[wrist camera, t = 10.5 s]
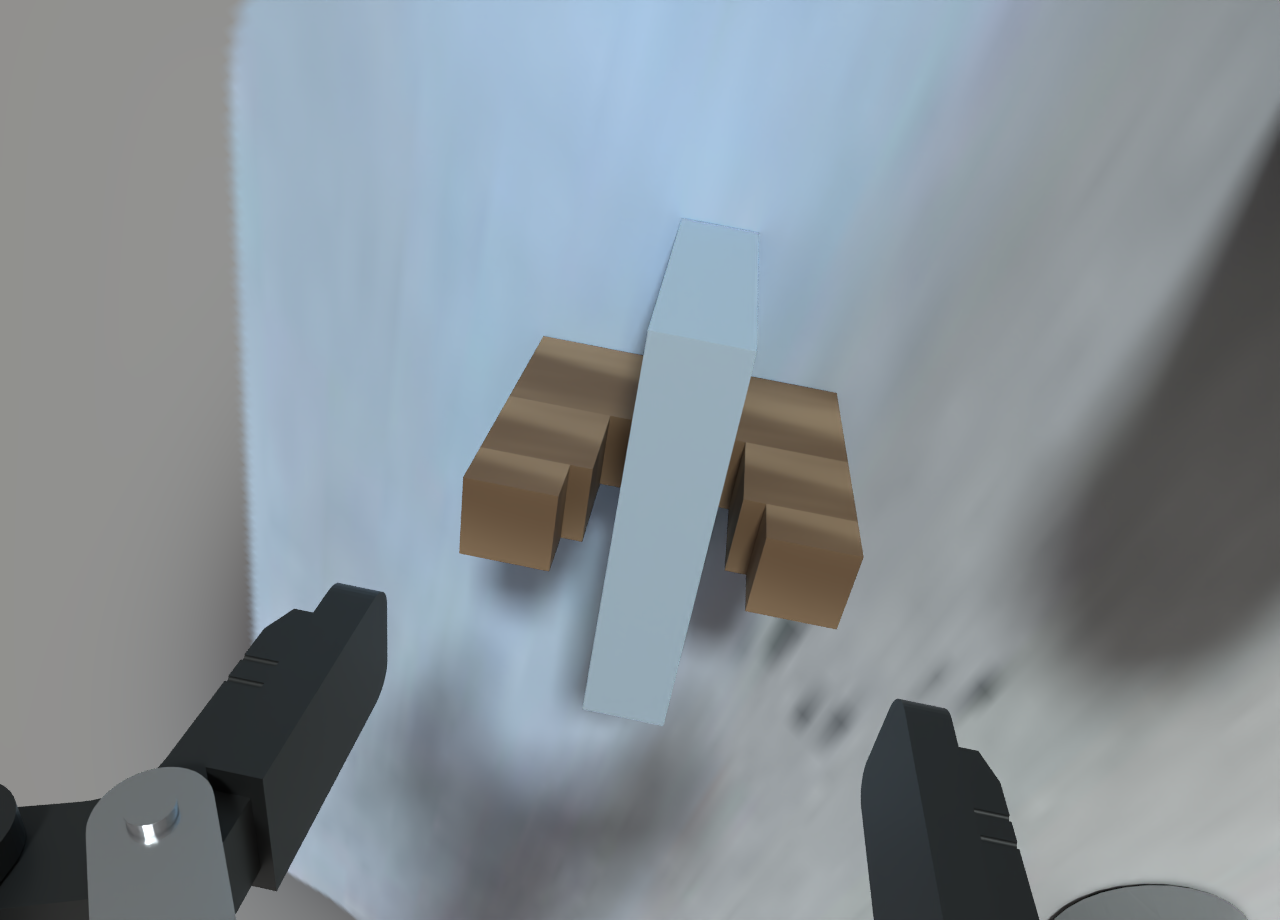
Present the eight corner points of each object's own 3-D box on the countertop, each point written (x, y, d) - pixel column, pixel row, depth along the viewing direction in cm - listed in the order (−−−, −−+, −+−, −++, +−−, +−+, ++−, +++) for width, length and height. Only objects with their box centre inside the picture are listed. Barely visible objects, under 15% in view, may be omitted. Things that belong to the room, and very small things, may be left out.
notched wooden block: (817, 453, 30) (836, 629, 22) (537, 398, 30) (459, 553, 22) (836, 393, 28) (863, 556, 21) (543, 336, 29) (463, 477, 21)
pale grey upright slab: (759, 232, 26) (757, 351, 18) (687, 541, 32) (663, 726, 25) (682, 218, 26) (647, 330, 18) (625, 529, 32) (582, 709, 25)
